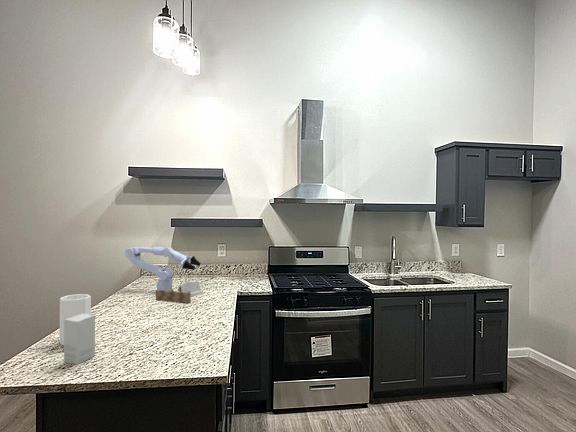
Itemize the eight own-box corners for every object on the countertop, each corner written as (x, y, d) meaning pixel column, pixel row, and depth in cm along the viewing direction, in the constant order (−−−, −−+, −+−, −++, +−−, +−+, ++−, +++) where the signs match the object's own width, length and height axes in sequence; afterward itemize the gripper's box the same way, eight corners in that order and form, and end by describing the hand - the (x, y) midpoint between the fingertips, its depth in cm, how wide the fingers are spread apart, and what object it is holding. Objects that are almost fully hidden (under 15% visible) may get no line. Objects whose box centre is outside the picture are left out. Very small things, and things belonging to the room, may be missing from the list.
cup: (57, 347, 142) (57, 301, 142) (62, 338, 152) (62, 295, 152) (89, 344, 147) (89, 298, 147) (91, 335, 157) (92, 293, 157)
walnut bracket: (155, 299, 223) (155, 290, 223) (165, 296, 231) (165, 287, 231) (188, 303, 215) (188, 293, 215) (196, 300, 223) (197, 290, 223)
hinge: (184, 298, 227) (180, 283, 229) (179, 300, 230) (176, 284, 232) (203, 293, 242) (200, 279, 243) (198, 295, 244) (195, 280, 246)
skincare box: (82, 354, 136) (82, 312, 136) (96, 356, 134) (96, 314, 134) (62, 362, 128) (63, 318, 128) (77, 365, 126) (77, 320, 126)
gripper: (175, 256, 232) (194, 265, 231) (186, 249, 246) (204, 258, 245) (172, 265, 234) (190, 274, 233) (183, 258, 248) (200, 266, 247)
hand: (197, 266), depth 239 cm, fingers open, 7 cm apart
